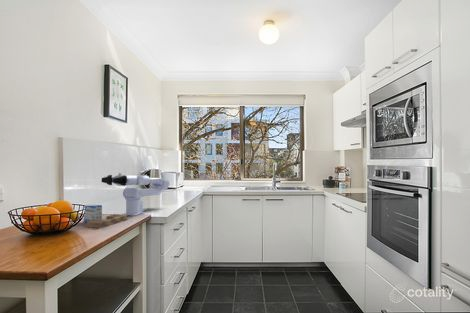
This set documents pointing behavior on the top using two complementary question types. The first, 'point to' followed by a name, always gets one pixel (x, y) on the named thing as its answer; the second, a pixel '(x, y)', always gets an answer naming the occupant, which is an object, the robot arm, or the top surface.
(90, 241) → the top surface
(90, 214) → the medicine box
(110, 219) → the walnut channel
